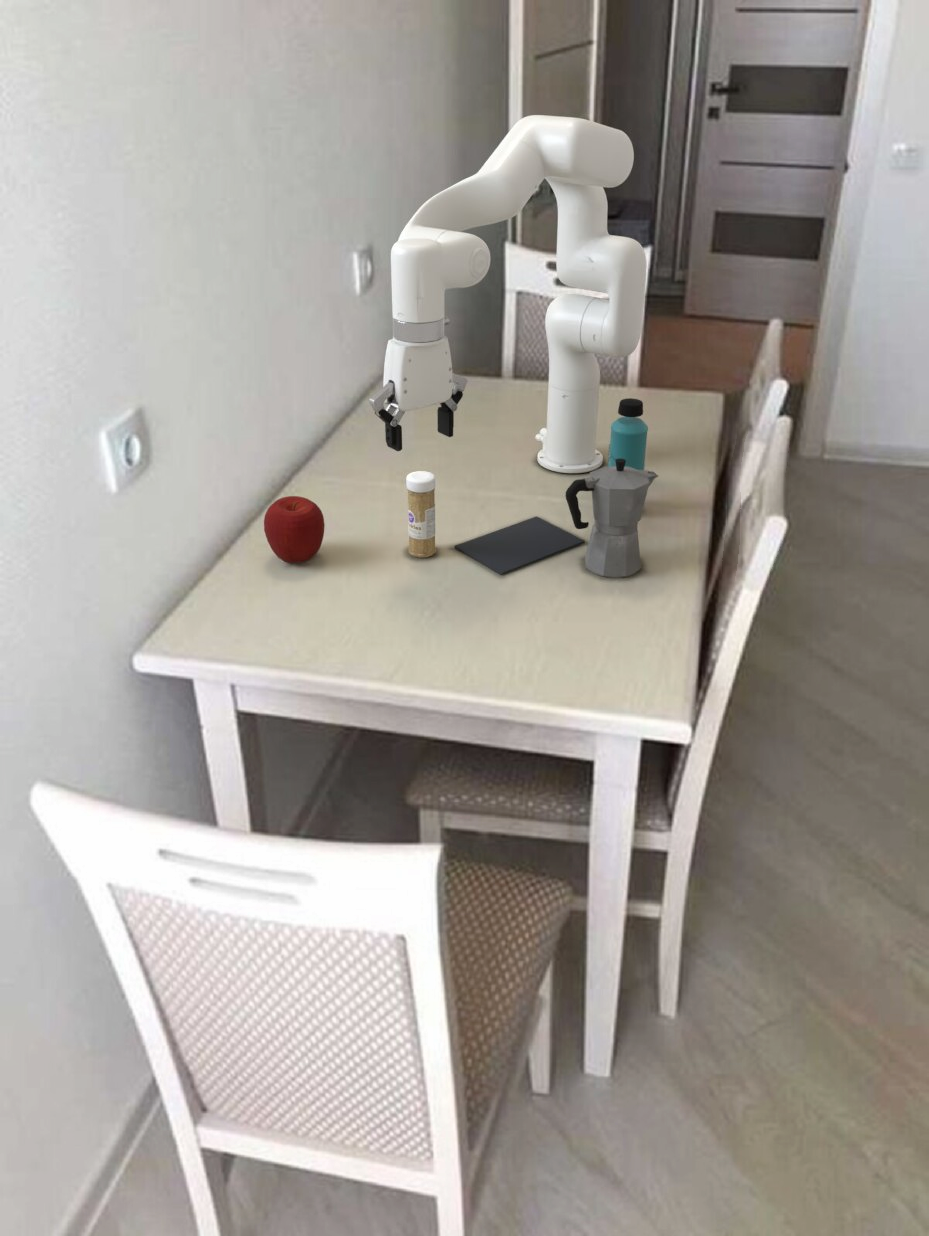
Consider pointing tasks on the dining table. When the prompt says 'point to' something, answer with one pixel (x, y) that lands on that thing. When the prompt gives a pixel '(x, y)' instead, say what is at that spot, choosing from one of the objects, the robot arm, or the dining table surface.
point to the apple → (294, 528)
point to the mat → (519, 545)
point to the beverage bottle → (629, 435)
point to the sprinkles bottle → (421, 513)
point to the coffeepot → (612, 517)
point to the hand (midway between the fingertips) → (420, 441)
